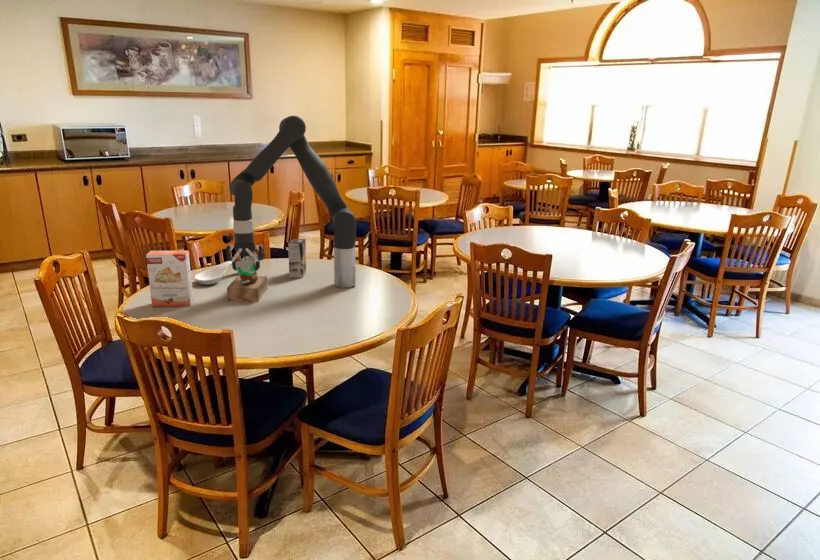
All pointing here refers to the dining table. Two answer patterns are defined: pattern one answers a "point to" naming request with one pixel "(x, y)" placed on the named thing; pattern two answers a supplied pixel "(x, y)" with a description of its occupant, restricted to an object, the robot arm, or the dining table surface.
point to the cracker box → (169, 278)
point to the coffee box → (297, 258)
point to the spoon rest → (213, 274)
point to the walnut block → (247, 290)
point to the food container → (247, 270)
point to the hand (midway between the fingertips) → (246, 270)
